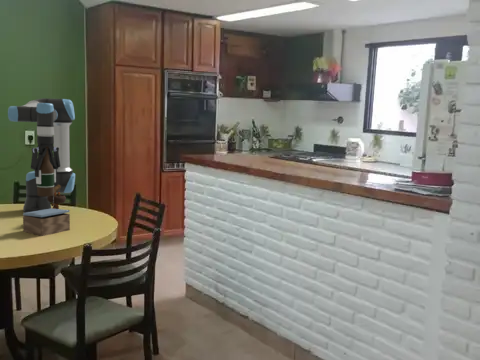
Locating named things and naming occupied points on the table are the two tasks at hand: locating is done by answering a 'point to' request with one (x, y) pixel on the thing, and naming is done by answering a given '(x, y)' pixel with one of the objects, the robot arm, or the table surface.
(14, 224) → the table surface
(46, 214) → the lid
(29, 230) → the box
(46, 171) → the beer bottle
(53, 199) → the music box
